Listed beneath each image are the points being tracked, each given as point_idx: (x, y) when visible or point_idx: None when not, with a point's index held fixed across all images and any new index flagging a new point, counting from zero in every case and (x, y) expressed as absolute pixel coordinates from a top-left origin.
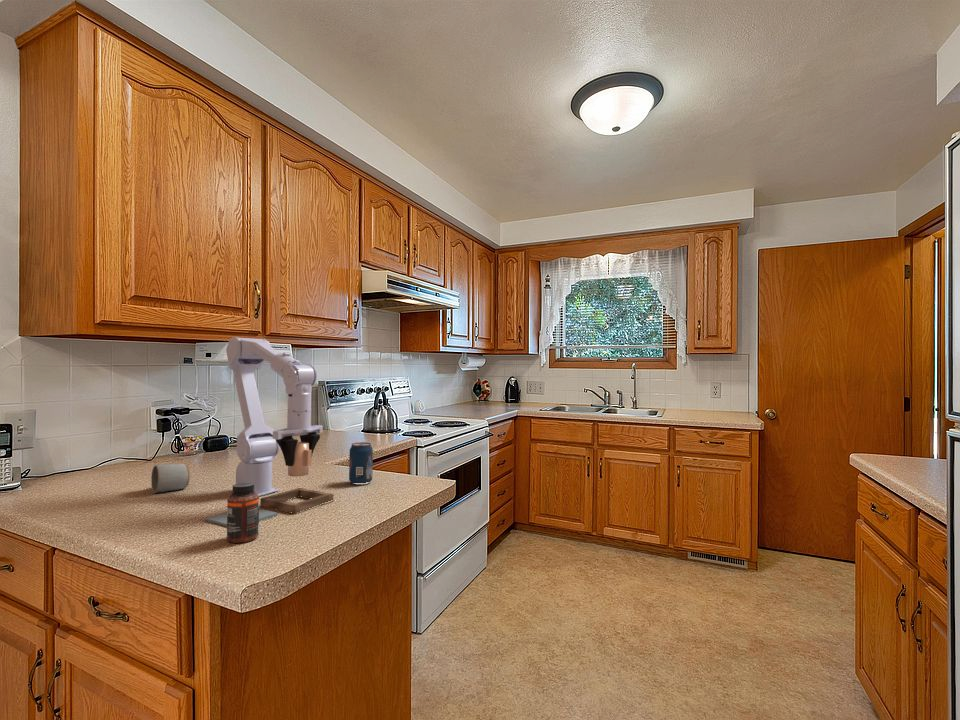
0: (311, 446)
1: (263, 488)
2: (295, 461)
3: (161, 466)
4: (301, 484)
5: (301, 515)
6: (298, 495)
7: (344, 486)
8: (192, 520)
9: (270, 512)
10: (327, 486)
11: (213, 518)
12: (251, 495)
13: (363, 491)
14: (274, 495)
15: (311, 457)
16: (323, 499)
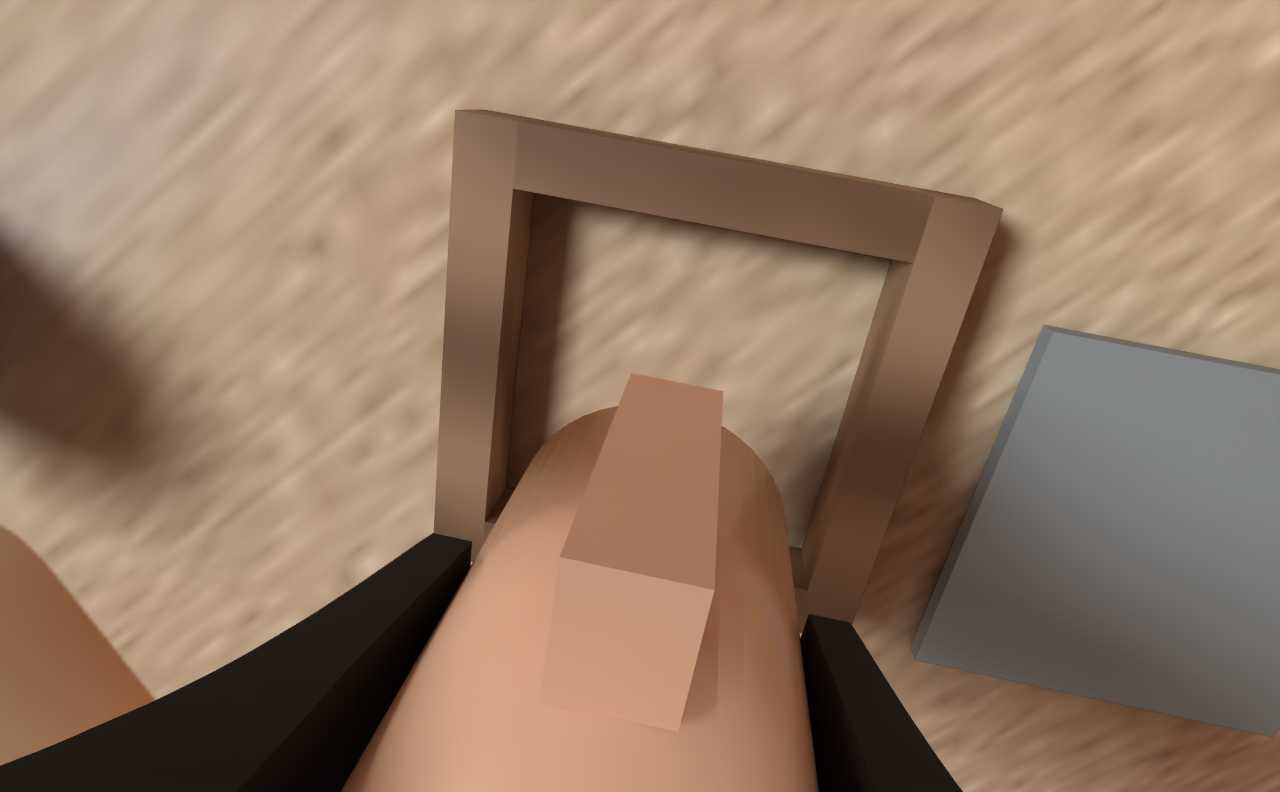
0: (288, 744)
1: None
2: (799, 641)
3: None
4: (231, 661)
5: (997, 112)
6: (508, 496)
7: (58, 328)
8: (1251, 787)
9: (1050, 400)
10: (150, 461)
11: (1276, 685)
12: None
13: (53, 35)
14: None
15: (392, 563)
16: (607, 136)
